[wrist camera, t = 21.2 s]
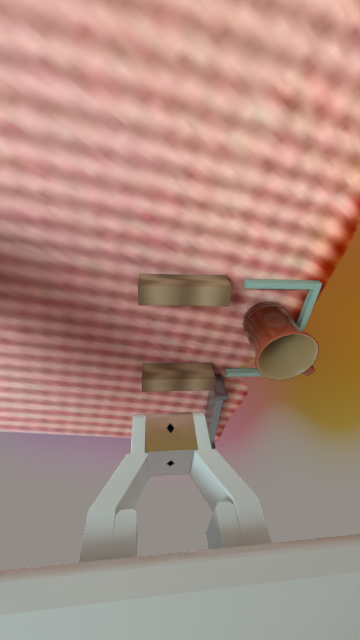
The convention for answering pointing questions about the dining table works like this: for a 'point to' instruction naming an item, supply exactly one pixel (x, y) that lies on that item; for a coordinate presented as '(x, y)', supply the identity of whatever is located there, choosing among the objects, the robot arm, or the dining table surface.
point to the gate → (215, 407)
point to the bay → (303, 318)
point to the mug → (279, 342)
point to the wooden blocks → (181, 294)
